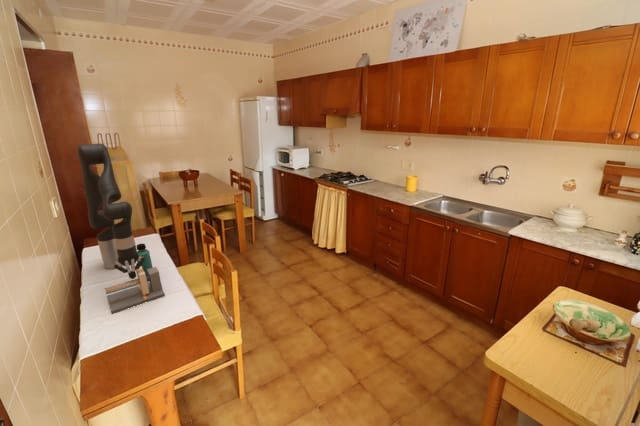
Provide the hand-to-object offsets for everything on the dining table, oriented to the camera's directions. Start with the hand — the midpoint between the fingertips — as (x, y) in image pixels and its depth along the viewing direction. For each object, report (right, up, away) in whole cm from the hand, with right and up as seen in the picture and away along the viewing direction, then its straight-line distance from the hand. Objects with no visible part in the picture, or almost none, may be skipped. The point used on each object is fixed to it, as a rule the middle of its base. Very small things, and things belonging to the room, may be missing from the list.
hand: (133, 278), depth 144 cm
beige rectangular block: (+3, -7, +5) cm, 9 cm away
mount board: (-1, -10, +3) cm, 11 cm away
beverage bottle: (-4, -4, +19) cm, 20 cm away
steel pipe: (-1, -4, 0) cm, 4 cm away
